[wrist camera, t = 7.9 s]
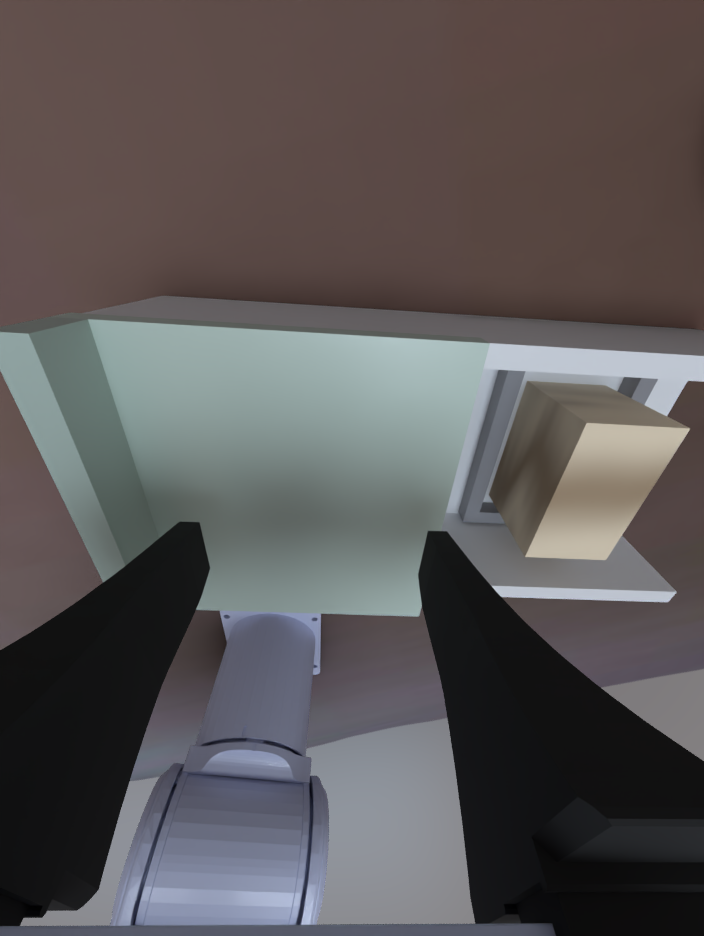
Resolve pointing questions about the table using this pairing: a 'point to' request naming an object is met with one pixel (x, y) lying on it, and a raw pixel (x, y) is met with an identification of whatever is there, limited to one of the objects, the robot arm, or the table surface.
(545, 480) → the tan rectangular block
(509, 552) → the housing
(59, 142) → the table surface
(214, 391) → the lid
